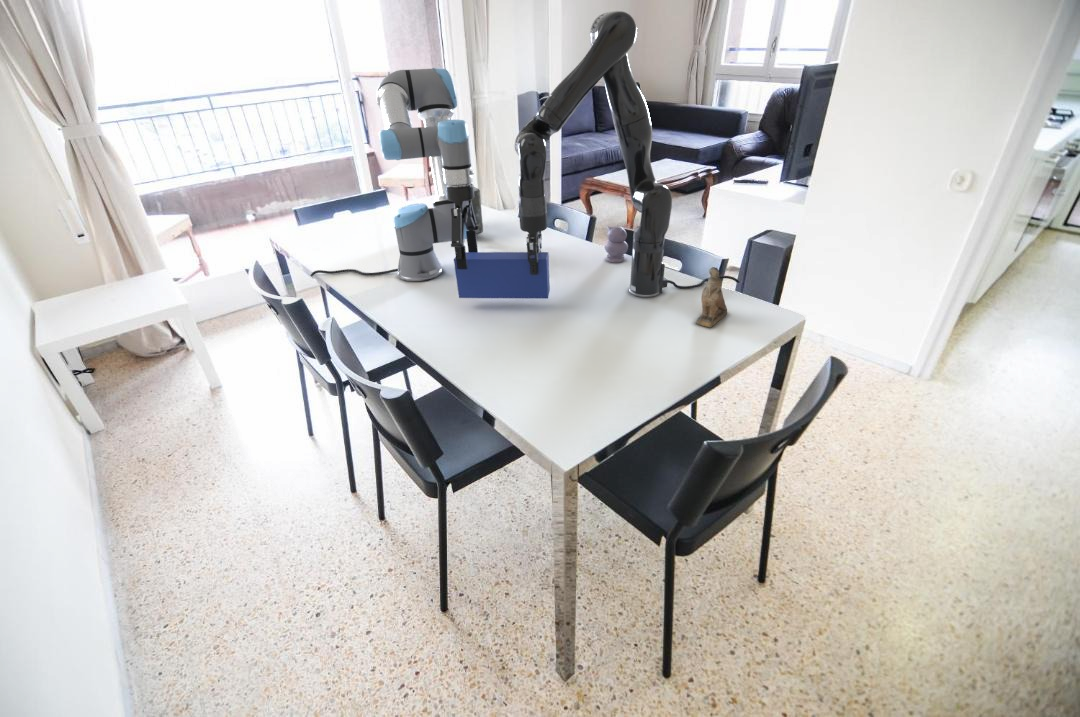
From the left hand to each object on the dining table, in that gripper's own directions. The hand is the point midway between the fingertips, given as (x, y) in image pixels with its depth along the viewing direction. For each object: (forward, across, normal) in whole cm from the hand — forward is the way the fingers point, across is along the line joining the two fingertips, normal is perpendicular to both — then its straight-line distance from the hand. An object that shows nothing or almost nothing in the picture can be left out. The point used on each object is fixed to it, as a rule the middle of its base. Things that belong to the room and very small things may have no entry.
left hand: (468, 260), depth 143 cm
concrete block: (+14, +72, +20) cm, 76 cm away
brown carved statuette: (+15, -5, -70) cm, 71 cm away
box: (+11, 0, -10) cm, 15 cm away
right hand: (+3, 0, -20) cm, 20 cm away
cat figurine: (+15, +41, -44) cm, 62 cm away
